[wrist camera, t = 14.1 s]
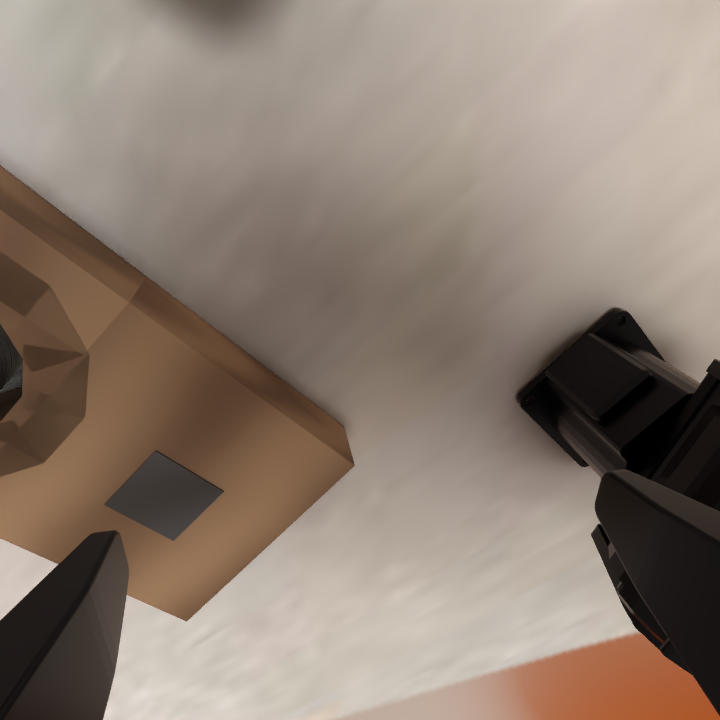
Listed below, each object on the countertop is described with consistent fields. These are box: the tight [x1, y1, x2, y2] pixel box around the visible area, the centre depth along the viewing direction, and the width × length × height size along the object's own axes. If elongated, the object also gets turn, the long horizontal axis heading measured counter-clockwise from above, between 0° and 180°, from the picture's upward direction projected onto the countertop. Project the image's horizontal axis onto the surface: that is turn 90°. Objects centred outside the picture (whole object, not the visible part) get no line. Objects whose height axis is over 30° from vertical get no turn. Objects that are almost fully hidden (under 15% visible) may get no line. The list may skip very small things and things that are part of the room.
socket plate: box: [0, 166, 355, 621], centre depth 20 cm, size 19×11×3 cm, turn 45°
